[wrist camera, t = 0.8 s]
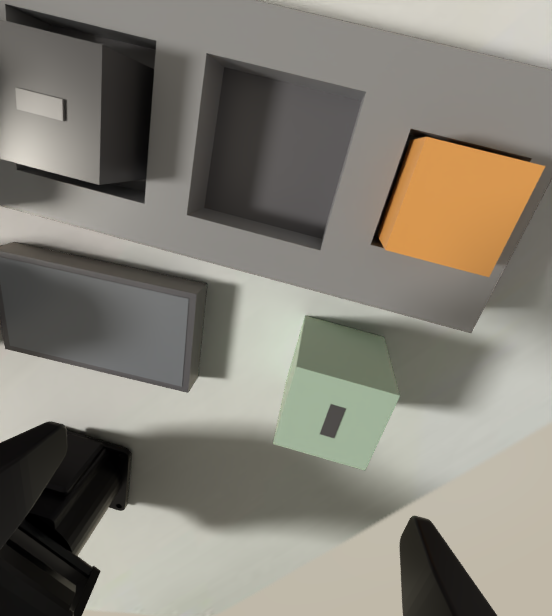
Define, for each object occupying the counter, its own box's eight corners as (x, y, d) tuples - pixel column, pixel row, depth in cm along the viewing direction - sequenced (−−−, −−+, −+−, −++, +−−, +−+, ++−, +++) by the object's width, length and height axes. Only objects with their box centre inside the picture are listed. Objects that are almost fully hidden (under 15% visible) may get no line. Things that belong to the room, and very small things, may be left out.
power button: (508, 164, 14) (545, 166, 12) (464, 258, 16) (489, 277, 14) (410, 139, 15) (426, 136, 12) (377, 235, 16) (385, 249, 14)
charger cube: (358, 399, 22) (365, 471, 17) (286, 379, 23) (272, 444, 17) (383, 336, 20) (400, 396, 15) (305, 315, 21) (296, 366, 16)
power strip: (553, 95, 15) (657, 66, 10) (451, 307, 19) (491, 359, 14) (15, -34, 16) (-122, -115, 11) (28, 194, 20) (-68, 206, 15)
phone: (200, 372, 24) (188, 393, 22) (32, 333, 25) (4, 349, 23) (209, 281, 21) (196, 294, 19) (20, 240, 22) (-12, 248, 20)
